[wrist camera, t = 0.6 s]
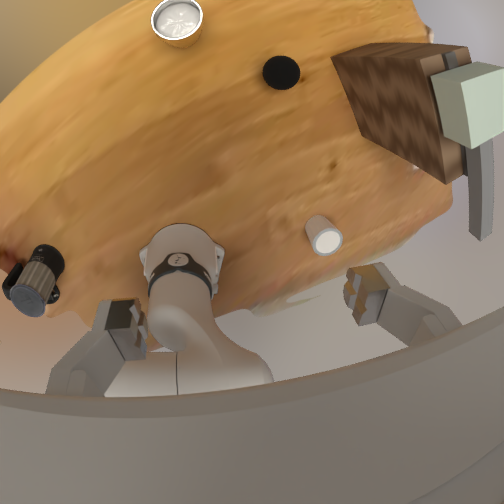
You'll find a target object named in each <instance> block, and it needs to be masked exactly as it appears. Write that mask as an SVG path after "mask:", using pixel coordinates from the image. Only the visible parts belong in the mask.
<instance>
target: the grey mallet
mask: <svg viewBox="0 0 504 504" xmlns="http://www.w3.org/2000/svg"><path fill="white" fill-rule="evenodd" d="M430 77H431V80H432V84H433V88H434V91H435V95H436V100H437V104H438V108H439V113H440V117H441V122H442V128H443V133H444V137H447V138H449V139H451V140H453V141H455V142H457V143H459V144H462V145H464V146H465V149H466V159H467V170H468V187H469V232H470V233H471V234H472V235H474V236H475V237H476V238H477V239H478V240H479V241H482V240H483V239H484V238H486V237H487V236H488V235H490V234H491V233H492V222H493V205H494V204H493V203H494V160H493V159H494V158H493V141H492V138H493V137H494V136H496V135H498V134H500V133H502V132H503V131H504V67H500V66H496V65H491V64H486V63H481V62H474V63H470V64H467V65H464V66H460V67H457V68H454V69H451V70H448V71H445V72H442V73H439V74H436V75H433V76H430Z"/></svg>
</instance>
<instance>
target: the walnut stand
mask: <svg viewBox="0 0 504 504" xmlns="http://www.w3.org/2000/svg"><path fill="white" fill-rule="evenodd" d="M331 60H332V62H333V64H334V66H335V68H336V71H337V73H338V75H339V78H340V80H341V82H342V85H343V87H344V90H345V92H346V95H347V97H348V100H349V102H350V105H351V107H352V110H353V113H354V115H355V118H356V121H357V124H358V126H359V129H360V132H361V135H362V136H363V137H365V138H367V139H369V140H370V141H372V142H374V143H376V144H378V145H380V146H382V147H384V148H386V149H387V150H389V151H391V152H393V153H395V154H396V155H398V156H400V157H402V158H403V159H405V160H407V161H409V162H410V163H412V164H414V165H415V166H417V167H419V168H420V169H422V170H424V171H425V172H427V173H428V174H430V175H432V176H433V177H435V178H436V179H438V180H439V181H441V182H442V183H444V184H445V185H447V184H448V183H450V182H452V181H453V180H455V179H457V178H458V177H460V176H462V175H463V174H464V175H465V176H468V170H467V159H466V149H465V146H464V145H462V144H459V143H457V142H455V141H453V140H451V139H449V138H447V137H444V133H443V128H442V122H441V117H440V113H439V108H438V104H437V100H436V95H435V91H434V88H433V84H432V80H431V77H430V76H433V75H436V74H439V73H442V72H445V71H448V70H451V69H454V68H457V67H460V66H464V65H467V64H470V63H472V61H471V58H470V54H469V50H468V47H464V46H455V45H444V44H430V43H371V44H367V45H364V46H361V47H358V48H355V49H352V50H349V51H346V52H343V53H340V54H337V55H335V56H332V57H331Z"/></svg>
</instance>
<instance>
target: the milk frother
mask: <svg viewBox="0 0 504 504" xmlns="http://www.w3.org/2000/svg"><path fill="white" fill-rule="evenodd" d="M63 270H64V260H63V257H62V255H61V254H60V253H59V252H58V251H57V250H56V249H55V248H53V247H52V246H49V245H39V246H38V247H36V248H35V250H34V251H33V254H32V256H31V258H30V260H29V262H28V263H27V265H26V266H25V268H24V270H23V267H22V264H21V263H17V264H16V265H15V266H14V268H13V269H12V270H11V272H10V273H9V275H8V276H7V277H6V279H5V280H4V282H3V284H2V289H3V292H4V294H5V296H6V298H7V299H9V300H11V301H12V303H13V304H14V306H15V307H16V308H17V309H18V310H19V311H21V312H22V313H23V314H25V315H28V316H30V317H40V316H42V315H43V314H44V312H45V306H46V304H52V303H55V302H56V301H57V300H58V298H59V291H58V288H57V287H56V285H55V283H56V281H57V279H58V277H59V276H60V274H61V273H62V272H63ZM52 290H54V291H55V294H53V291H52Z"/></svg>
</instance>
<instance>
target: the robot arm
mask: <svg viewBox="0 0 504 504" xmlns="http://www.w3.org/2000/svg"><path fill="white" fill-rule="evenodd" d="M224 252H225V251H224V248H223V247H221V246H220V245H218V244H216V243H214V242H213V241H212V240H211V238H210V237H209V236H208V235H207V234H206V233H205V232H204V231H203V230H201V229H199V228H197V227H195V226H192V225H188V224H174V225H170V226H167V227H165V228H163V229H161V230H160V231H159V232H157V233H156V234H155V236H154V237H153V238H152V240H151V242H150V243H149V244H148V245H147V246H145V247H144V248H142V249H141V250H140V253H139V256H140V259H141V262H142V264H143V267H144V276H146V279H147V281H148V296H149V306H148V314H147V319H146V316H145V313H143V312H142V311H141V303H140V301H139V298H137V297H134V298H122V299H113V300H102V301H101V302H100V303H99V306H98V310H97V313H96V316H95V320H94V324H93V327H92V331H88V332H87V333H86V334H85V335H84V336H83V337H82V338H81V339H80V340H79V341H78V342H77V343H76V344H75V345H74V346H73V347H72V348H71V349H70V351H68V352H67V354H66V355H65V356H63V358H62V359H61V360H60V361H59V362H58V363H57V364H56V365H55V366H54V367H53V368H52V370H51V373H50V377H49V381H48V385H47V389H46V393H45V394H38V393H29V392H22V391H14V390H7V389H1V388H0V504H504V307H502V308H500V309H498V310H496V311H494V312H492V313H490V314H488V315H486V316H484V317H481V318H479V319H477V320H475V321H473V322H470V323H468V324H466V325H462V324H461V322H460V321H459V320H458V319H457V317H456V316H455V315H454V313H453V312H452V311H451V310H450V308H449V307H447V306H445V305H443V304H441V303H439V302H437V301H435V300H433V299H431V298H429V297H427V296H425V295H423V294H421V293H419V292H417V291H415V290H413V289H411V288H409V287H407V286H405V285H404V286H401V285H400V283H399V282H398V281H397V280H396V278H395V277H394V276H393V274H392V273H391V272H390V271H389V270H388V268H387V267H386V266H385V265H384V263H382V262H379V263H374V264H370V265H364V266H358V267H353V268H349V269H348V270H347V274H346V277H347V278H348V281H347V282H346V284H345V285H344V290H343V293H344V300H345V303H346V305H347V306H348V307H349V308H351V309H352V310H353V313H352V315H353V317H354V319H355V321H356V323H357V324H358V326H363V325H367V324H372V323H376V322H377V324H378V325H380V326H381V327H382V328H384V329H385V330H387V331H388V332H389V333H391V334H392V335H394V336H395V337H396V338H398V339H399V340H401V341H402V342H403V343H405V344H406V345H408V346H409V347H407V348H404V349H401V350H398V351H395V352H392V353H389V354H386V355H383V356H379V357H376V358H373V359H370V360H366V361H363V362H359V363H356V364H352V365H348V366H344V367H341V368H337V369H333V370H329V371H325V372H321V373H316V374H312V375H308V376H303V377H298V378H294V379H289V380H284V381H278V382H274V379H273V375H272V373H271V370H270V368H269V367H268V365H267V364H266V362H265V361H264V360H263V359H262V358H261V357H260V356H259V355H258V354H256V353H254V352H251V351H249V350H246V349H244V348H242V347H240V346H239V345H237V344H236V343H234V342H233V341H231V340H230V339H229V338H228V337H226V335H224V334H223V332H222V331H221V330H220V329H219V327H218V326H217V324H216V323H215V320H214V316H213V311H212V306H211V299H212V298H213V295H214V294H217V292H218V284H217V282H218V279H219V273H220V269H221V265H222V261H223V258H224ZM217 256H219V257H217ZM148 328H149V331H150V333H151V334H152V336H153V337H154V338H155V339H156V340H157V341H158V342H159V343H160V344H161V345H162V346H164V347H166V348H168V349H170V350H172V351H174V352H146V350H147V345H146V343H145V341H144V340H145V339H146V338H147V337H148Z"/></svg>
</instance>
